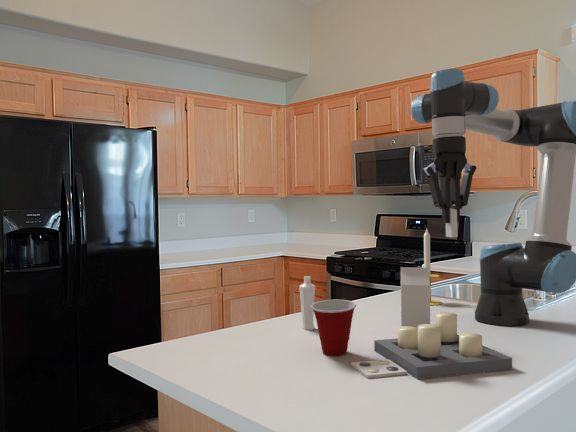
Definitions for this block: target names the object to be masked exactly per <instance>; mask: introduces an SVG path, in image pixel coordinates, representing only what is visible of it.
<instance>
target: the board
mask: <svg viewBox="0 0 576 432" xmlns="http://www.w3.org/2000/svg"><path fill="white" fill-rule="evenodd" d="M373 346H374V352H376V353H377V354H379V355H380V356H382V357H383V358H384V359H385V360H387V359H389V360H391V361H392V362H394V363H395V364H397V365H398V366H400V367H401V368H403V369H404V370H406V371H407V374H409V375H410V376H411V377H413V378H414V379H416V380H425V379H427V380H428V379H435V378H445V377H454V376H455V377H456V376H463V375H473V374H482V373H483V372H485V373H492V372H501V371H502V372H503V371H511V370H513V357H511V356H508V355H507V354H504V353H502V352H499V351H498V350H495V349H492V348H489V347H488V346H485V345H483V344H482V356H478V357H467V358H466V357H464V356H462V355H460V354H459V334H457V341H454V342H443V341H441V356H439V357H423V356H420V355H419V354H418V348H409V349H401V348H400V347H398V337H397V338H388V339H387V338H385V339H375V340H374V345H373Z"/></svg>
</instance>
